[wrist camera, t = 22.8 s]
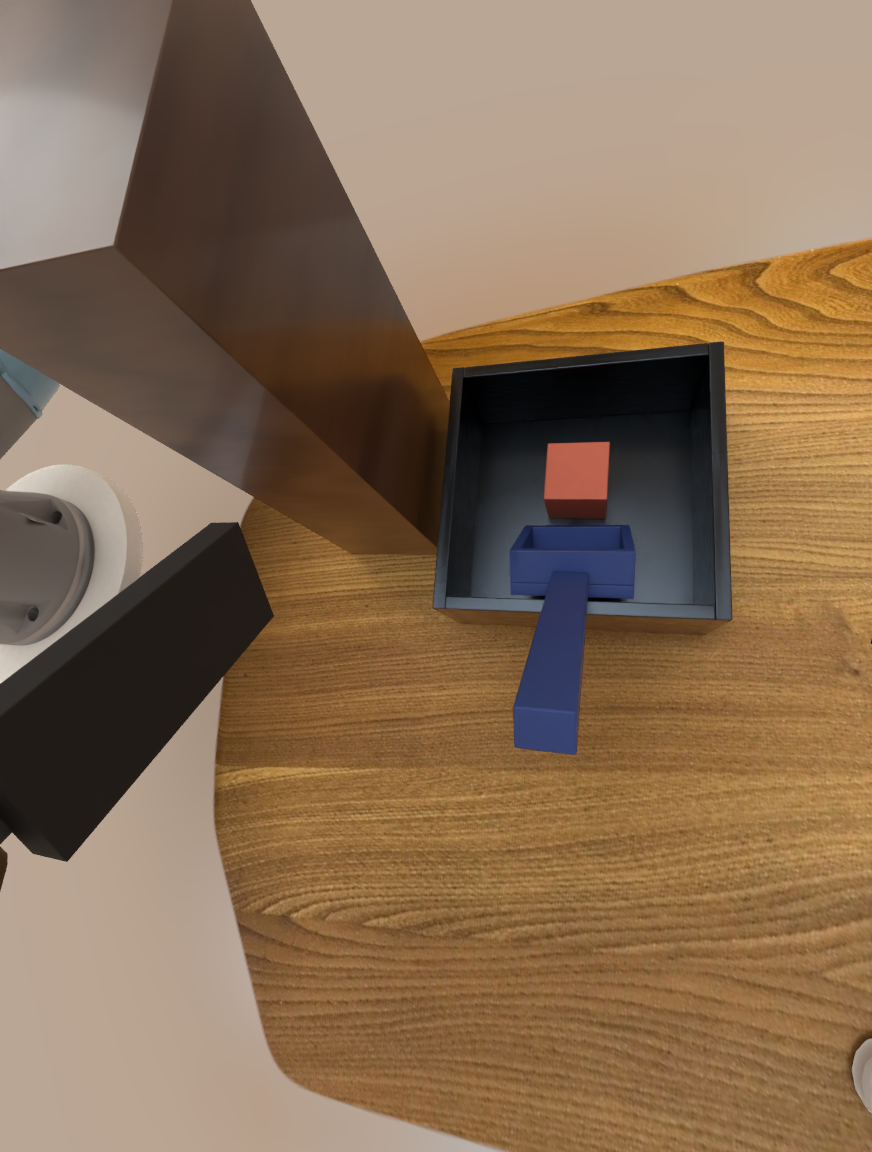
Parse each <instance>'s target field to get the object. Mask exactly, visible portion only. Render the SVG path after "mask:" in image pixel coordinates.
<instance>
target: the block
mask: <svg viewBox="0 0 872 1152" xmlns="http://www.w3.org/2000/svg"><path fill="white" fill-rule="evenodd" d="M609 452H610V442H585V443H549V444H548V447H547V460H546V474H545V487H544V502H545V505H546V509H547V513H548V517H549V518H579V519H606V510H607V492H608V472H609Z"/></svg>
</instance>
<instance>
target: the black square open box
mask: <svg viewBox="0 0 872 1152" xmlns="http://www.w3.org/2000/svg"><path fill="white" fill-rule="evenodd" d="M585 442H610V452H609V472H608V492H607V510H606V519H579V518H549V517H548V513H547V509H546V505H545V502H544V487H545V474H546V460H547V447H548V444H549V443H585ZM526 525H630V529H631V534H632V538H633V542H634V547H635V551H636V559H635V581H634V598H633V599H623V598H592V597H588V601H587V615H586V629H587V630H607V631H628V632H648V633H669V634H689V635H706V634H708V633H710V632H711V631H713V630H715V629H717V628H719V627H720V626H722V625H724V624H726V623H728V622H729V621H731V620H732V597H731V564H730V531H729V497H728V464H727V431H726V398H725V365H724V342H713V343H709V344H708V343H705V344H695V345H685V346H675V347H665V348H655V349H645V350H635V351H625V352H615V353H605V354H595V355H585V356H575V357H565V358H555V359H545V360H535V361H525V362H515V363H505V364H495V365H485V366H475V367H465V368H464V367H462V368H453V372H452V384H451V396H450V408H449V419H448V431H447V443H446V455H445V467H444V478H443V490H442V502H441V514H440V526H439V538H438V549H437V561H436V573H435V585H434V597H433V609H435V610H437V611H439V612H441V613H443V614H445V615H446V616H448V617H450V618H452V619H454V620H456V621H457V622H460V623H464V624H484V625H505V626H525V627H537V624H538V621H539V617H540V614H541V610H542V607H543V603H544V600H545V596H530V595H511V591H510V583H511V582H510V557H509V551H510V549H511V547H512V546H513V544H514V543H515V541H516V539H517V538H518V536H519V535H520V533H521V531H522V530H523V528H524V527H525V526H526Z"/></svg>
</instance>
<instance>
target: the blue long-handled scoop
mask: <svg viewBox="0 0 872 1152" xmlns="http://www.w3.org/2000/svg"><path fill="white" fill-rule="evenodd" d="M509 557H510V582H511V583H510V591H511V595H530V596H545V600H544V603H543V607H542V610H541V614H540V617H539V621H538V624H537V627H536V631H535V634H534V638H533V641H532V645H531V648H530V651H529V655H528V658H527V662H526V665H525V669H524V672H523V676H522V679H521V682H520V686H519V689H518V693H517V696H516V700H515V703H514V706H513V717H514V745H515V747H516V748H521V749H529V750H537V751H546V752H554V753H563V754H571V755H575V754H576V752H577V741H578V727H579V713H580V699H581V685H582V671H583V657H584V643H585V629H586V615H587V601H588V597H592V598H623V599H633V598H634V581H635V559H636V551H635V547H634V542H633V538H632V534H631V529H630V525H526V526H525V527H524V528H523V530H522V531H521V533H520V535H519V536H518V538H517V539H516V541H515V543H514V544H513V546H512V547H511V549H510V551H509Z"/></svg>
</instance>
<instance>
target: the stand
mask: <svg viewBox="0 0 872 1152" xmlns="http://www.w3.org/2000/svg"><path fill="white" fill-rule="evenodd" d="M0 349H1V350H3V351H5V352H6V353H8V354H10V355H12V356H13V357H15V358H17V359H18V360H20V361H22V362H24V363H25V364H27V365H29V366H30V367H32V368H34V369H36V370H37V371H39V372H41V373H42V374H44V375H46V376H48V377H49V378H51V379H53V380H54V381H56V382H58V383H60V384H61V385H63V386H65V387H67V388H68V389H70V390H72V391H73V392H75V393H77V394H78V395H80V396H82V397H84V398H85V399H87V400H89V401H90V402H92V403H94V404H96V405H98V406H99V407H101V408H102V409H104V410H106V411H108V412H109V413H111V414H113V415H114V416H116V417H118V418H120V419H121V420H123V421H125V422H126V423H128V424H130V425H132V426H134V427H135V428H137V429H138V430H140V431H142V432H144V433H146V434H147V435H149V436H150V437H152V438H154V439H156V440H157V441H159V442H161V443H162V444H164V445H166V446H168V447H169V448H171V449H173V450H174V451H176V452H178V453H180V454H182V455H183V456H185V457H187V458H188V459H190V460H192V461H193V462H195V463H197V464H198V465H200V466H202V467H204V468H205V469H207V470H209V471H211V472H212V473H214V474H216V475H217V476H219V477H221V478H223V479H224V480H226V481H228V482H229V483H231V484H233V485H235V486H236V487H238V488H240V489H241V490H243V491H245V492H246V493H248V494H250V495H252V496H253V497H255V498H257V499H258V500H260V501H262V502H264V503H265V504H267V505H269V506H270V507H272V508H274V509H276V510H277V511H279V512H281V513H282V514H284V515H286V516H288V517H289V518H291V519H293V520H294V521H296V522H298V523H300V524H301V525H303V526H305V527H306V528H308V529H310V530H312V531H313V532H315V533H317V534H318V535H320V536H322V537H324V538H325V539H327V540H329V541H330V542H332V543H334V544H336V545H337V546H339V547H341V548H342V549H344V550H346V551H348V552H349V553H351V554H423V555H437V549H438V538H439V526H440V514H441V502H442V490H443V478H444V467H445V455H446V443H447V431H448V419H449V408H450V402H449V400H448V398H447V396H446V394H445V392H444V390H443V388H442V386H441V384H440V382H439V380H438V378H437V376H436V374H435V372H434V370H433V368H432V366H431V364H430V362H429V360H428V358H427V356H426V354H425V351H424V349H423V347H422V345H421V343H420V341H419V339H418V337H417V335H416V333H415V331H414V329H413V327H412V325H411V323H410V321H409V319H408V317H407V315H406V313H405V311H404V309H403V307H402V305H401V303H400V301H399V299H398V297H397V295H396V293H395V291H394V289H393V287H392V285H391V283H390V281H389V279H388V277H387V275H386V273H385V271H384V269H383V267H382V265H381V263H380V261H379V259H378V257H377V255H376V253H375V250H374V248H373V246H372V244H371V242H370V240H369V238H368V236H367V234H366V232H365V230H364V228H363V226H362V224H361V222H360V220H359V218H358V216H357V214H356V212H355V210H354V208H353V206H352V204H351V202H350V200H349V198H348V196H347V194H346V192H345V190H344V188H343V186H342V184H341V182H340V180H339V178H338V176H337V174H336V172H335V170H334V168H333V166H332V164H331V162H330V160H329V158H328V156H327V154H326V152H325V150H324V148H323V145H322V143H321V141H320V140H319V137H318V136H317V133H316V131H315V130H314V127H313V125H312V123H311V121H310V119H309V117H308V115H307V113H306V111H305V109H304V107H303V105H302V103H301V101H300V99H299V97H298V95H297V93H296V91H295V89H294V87H293V85H292V83H291V81H290V79H289V77H288V75H287V73H286V71H285V69H284V67H283V65H282V63H281V61H280V59H279V57H278V55H277V53H276V51H275V49H274V47H273V44H272V43H271V41H270V38H269V36H268V34H267V32H266V30H265V29H264V26H263V24H262V22H261V20H260V18H259V16H258V14H257V12H256V10H255V8H254V6H253V4H252V2H251V0H0Z"/></svg>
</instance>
